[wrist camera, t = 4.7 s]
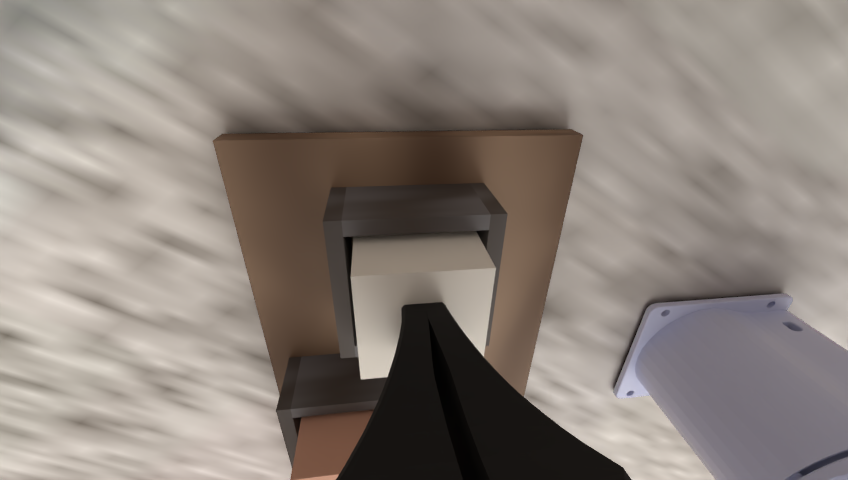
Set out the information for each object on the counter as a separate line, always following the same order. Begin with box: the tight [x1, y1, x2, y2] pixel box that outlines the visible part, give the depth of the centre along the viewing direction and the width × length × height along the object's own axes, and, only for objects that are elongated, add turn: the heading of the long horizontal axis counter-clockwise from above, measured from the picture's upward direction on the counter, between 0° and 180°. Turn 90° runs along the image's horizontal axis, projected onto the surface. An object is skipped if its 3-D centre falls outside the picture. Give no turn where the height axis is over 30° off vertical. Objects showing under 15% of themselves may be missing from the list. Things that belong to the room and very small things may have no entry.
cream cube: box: [351, 231, 496, 379], centre depth 14 cm, size 4×4×4 cm
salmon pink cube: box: [290, 410, 374, 480], centre depth 17 cm, size 4×4×4 cm
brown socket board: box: [213, 129, 583, 468], centre depth 20 cm, size 14×28×4 cm, turn 179°
